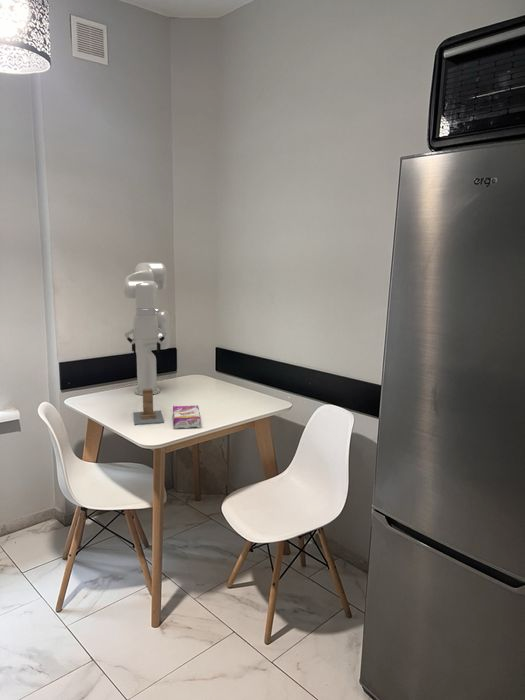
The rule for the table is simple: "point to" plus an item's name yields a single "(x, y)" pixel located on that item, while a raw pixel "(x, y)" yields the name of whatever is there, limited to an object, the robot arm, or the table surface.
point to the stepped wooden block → (148, 405)
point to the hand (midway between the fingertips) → (146, 352)
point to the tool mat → (148, 421)
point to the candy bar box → (186, 417)
